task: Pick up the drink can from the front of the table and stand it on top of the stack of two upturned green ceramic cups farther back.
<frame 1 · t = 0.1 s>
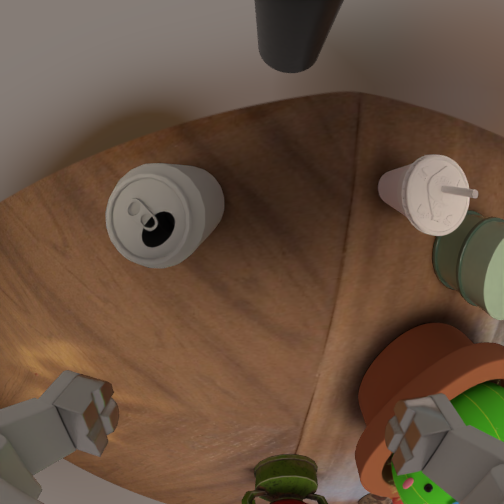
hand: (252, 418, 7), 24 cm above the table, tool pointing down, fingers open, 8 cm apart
lantern: (285, 470, 40), on the table
figurine: (373, 497, 43), on the table
cup stack: (463, 250, 30), on the table
smoothie: (392, 188, 29), on the table
can: (189, 202, 30), on the table
potted cactus: (416, 375, 35), on the table
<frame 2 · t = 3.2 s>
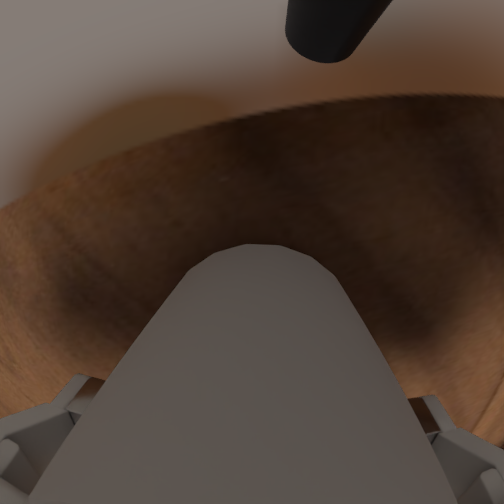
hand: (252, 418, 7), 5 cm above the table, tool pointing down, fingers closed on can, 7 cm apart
can: (259, 324, 13), on the table, touching gripper
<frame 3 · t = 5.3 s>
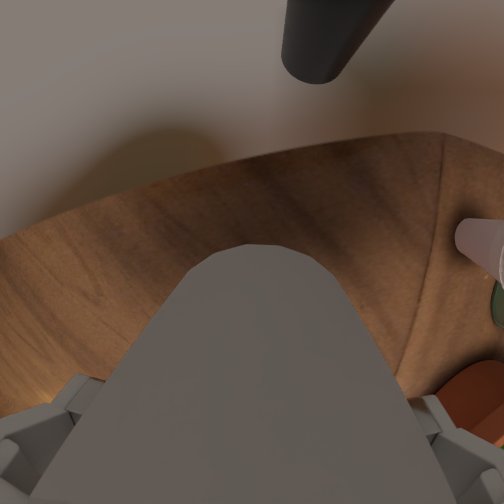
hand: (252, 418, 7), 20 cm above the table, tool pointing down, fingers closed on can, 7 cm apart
smoothie: (466, 235, 25), on the table
can: (259, 324, 13), point 14 cm above the table, touching gripper
potted cactus: (461, 407, 31), on the table
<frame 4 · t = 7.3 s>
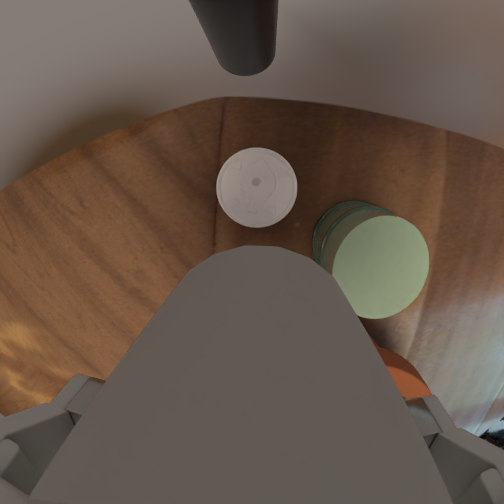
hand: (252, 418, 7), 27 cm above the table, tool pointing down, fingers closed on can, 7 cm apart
cup stack: (353, 243, 33), on the table
smoothie: (259, 183, 33), on the table
can: (259, 325, 13), point 22 cm above the table, touching gripper
potted cactus: (317, 372, 38), on the table
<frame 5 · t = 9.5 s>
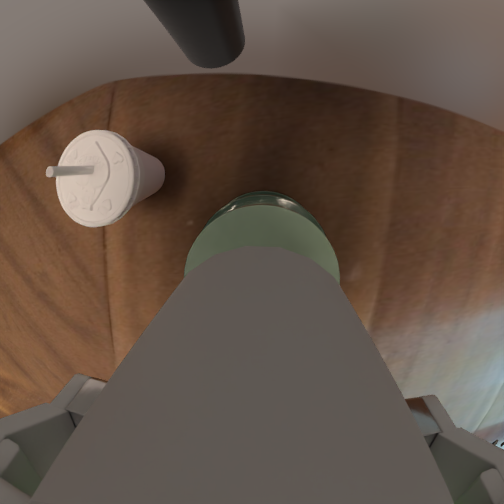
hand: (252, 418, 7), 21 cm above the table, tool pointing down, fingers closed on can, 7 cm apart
cup stack: (263, 245, 27), on the table
smoothie: (147, 175, 26), on the table
can: (259, 326, 13), point 15 cm above the table, touching gripper
when the fingers open (15 cm above the table, at t = 11.5 s): can stays where it is, resting on cup stack.
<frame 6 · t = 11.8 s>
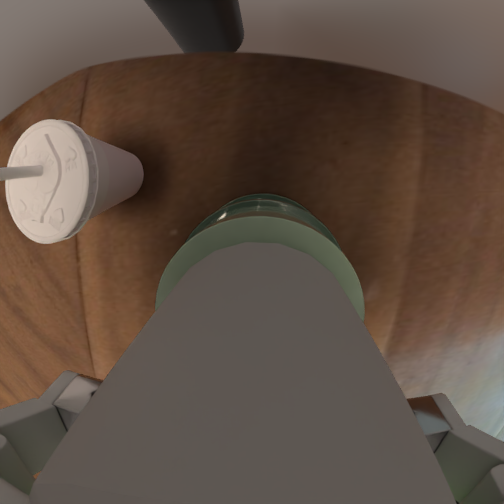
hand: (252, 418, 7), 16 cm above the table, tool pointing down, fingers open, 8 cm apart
cup stack: (262, 260, 22), on the table
smoothie: (123, 175, 21), on the table
can: (259, 321, 13), point 10 cm above the table, touching cup stack
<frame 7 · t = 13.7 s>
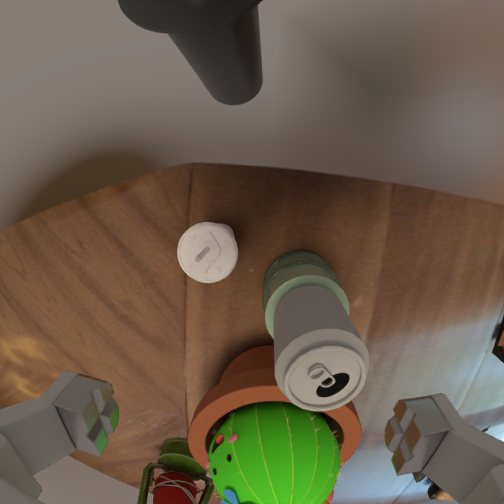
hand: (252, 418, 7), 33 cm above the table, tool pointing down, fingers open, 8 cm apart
lantern: (186, 452, 51), on the table
cup stack: (299, 285, 41), on the table
smoothie: (220, 237, 41), on the table
can: (308, 314, 32), point 10 cm above the table, touching cup stack
vase: (454, 460, 51), on the table
potted cactus: (273, 387, 46), on the table
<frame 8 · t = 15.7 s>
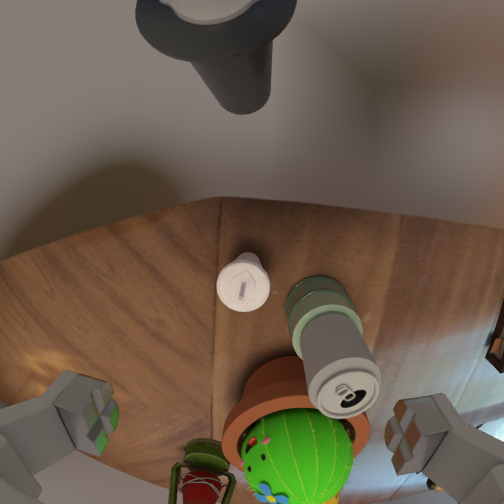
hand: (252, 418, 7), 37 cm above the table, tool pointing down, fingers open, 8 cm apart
lantern: (208, 451, 57), on the table
cup stack: (317, 305, 46), on the table
smoothie: (248, 263, 45), on the table
can: (328, 336, 37), point 10 cm above the table, touching cup stack
potted cactus: (291, 391, 51), on the table
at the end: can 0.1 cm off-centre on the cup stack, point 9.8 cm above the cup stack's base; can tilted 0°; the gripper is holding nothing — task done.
